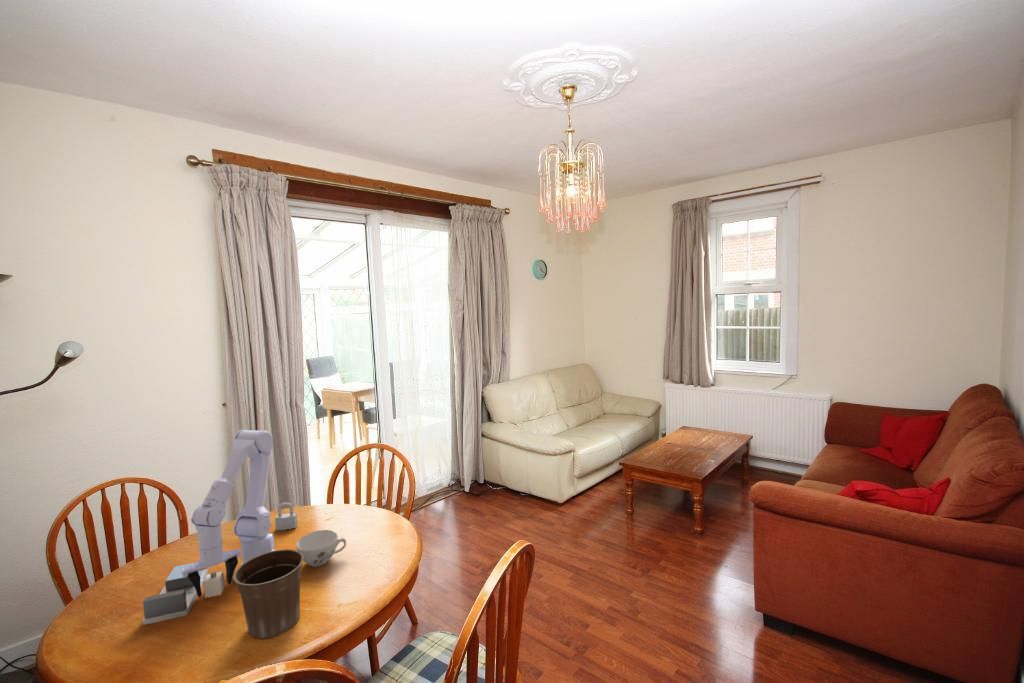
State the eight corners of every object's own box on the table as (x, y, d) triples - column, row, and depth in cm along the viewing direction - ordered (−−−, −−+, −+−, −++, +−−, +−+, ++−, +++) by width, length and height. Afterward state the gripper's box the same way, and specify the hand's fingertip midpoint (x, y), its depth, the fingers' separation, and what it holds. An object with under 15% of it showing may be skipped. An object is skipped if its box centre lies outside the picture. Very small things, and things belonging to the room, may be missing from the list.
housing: (224, 587, 137) (222, 568, 137) (220, 594, 133) (219, 575, 133) (208, 590, 136) (207, 571, 135) (205, 598, 132) (203, 578, 132)
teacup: (294, 576, 141) (292, 552, 141) (300, 556, 153) (299, 533, 153) (345, 567, 146) (344, 543, 145) (348, 548, 158) (346, 525, 157)
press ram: (202, 569, 144) (202, 561, 143) (194, 584, 136) (193, 575, 136) (175, 575, 141) (175, 566, 141) (165, 590, 133) (165, 581, 133)
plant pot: (229, 652, 110) (224, 590, 109) (247, 610, 126) (243, 555, 125) (302, 637, 115) (297, 576, 114) (311, 598, 130) (307, 544, 129)
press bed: (208, 573, 144) (206, 554, 144) (187, 615, 125) (185, 592, 124) (170, 581, 141) (169, 561, 140) (142, 625, 121) (140, 602, 121)
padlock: (298, 524, 176) (296, 499, 175) (294, 529, 172) (293, 504, 171) (278, 526, 175) (277, 501, 174) (275, 531, 171) (273, 505, 170)
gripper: (234, 531, 141) (237, 572, 142) (177, 550, 131) (181, 595, 132) (241, 538, 137) (245, 581, 138) (183, 559, 126) (187, 605, 127)
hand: (214, 589), depth 134 cm, fingers open, 7 cm apart
